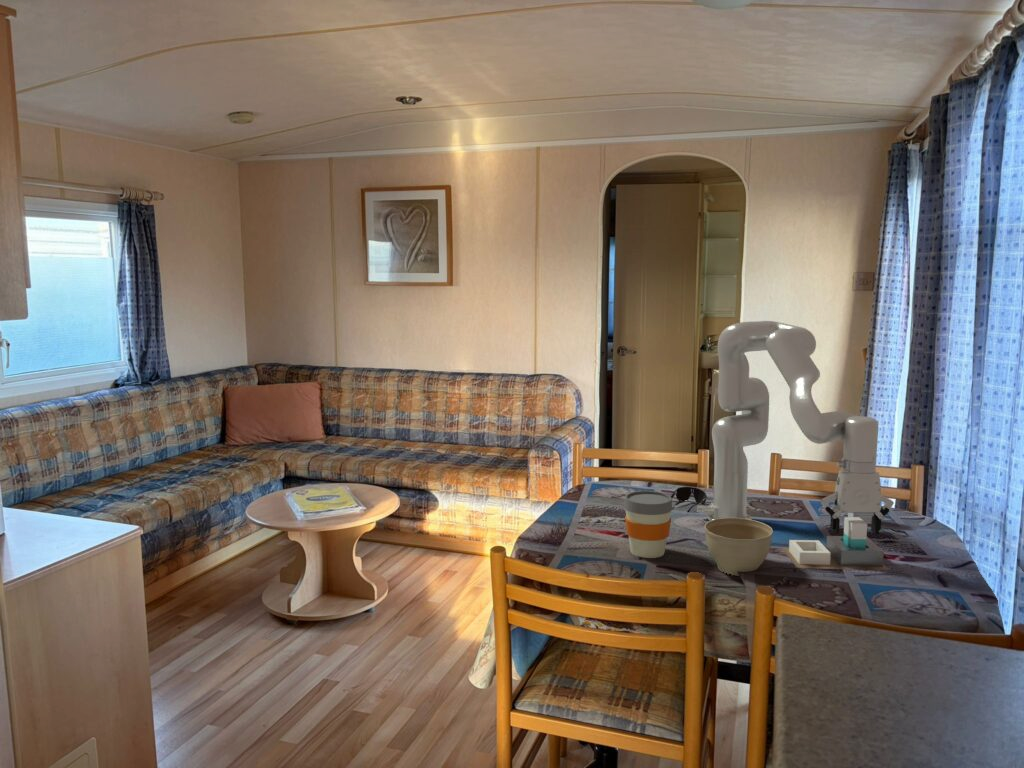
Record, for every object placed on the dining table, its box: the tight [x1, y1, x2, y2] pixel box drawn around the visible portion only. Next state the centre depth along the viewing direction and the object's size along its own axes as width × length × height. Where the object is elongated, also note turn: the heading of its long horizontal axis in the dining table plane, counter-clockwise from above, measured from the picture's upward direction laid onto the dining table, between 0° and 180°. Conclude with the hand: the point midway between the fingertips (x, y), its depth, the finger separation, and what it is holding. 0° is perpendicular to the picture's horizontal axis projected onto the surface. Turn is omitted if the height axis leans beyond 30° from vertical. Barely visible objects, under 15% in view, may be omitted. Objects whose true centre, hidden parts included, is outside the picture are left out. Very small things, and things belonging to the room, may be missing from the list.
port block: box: [825, 535, 885, 567], centre depth 187 cm, size 10×10×4 cm
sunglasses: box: [669, 486, 707, 513], centre depth 236 cm, size 10×12×5 cm
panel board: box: [781, 546, 891, 571], centre depth 188 cm, size 22×14×2 cm, turn 85°
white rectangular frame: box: [788, 539, 831, 565], centre depth 188 cm, size 7×9×3 cm
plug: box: [843, 516, 868, 548], centre depth 187 cm, size 4×5×10 cm
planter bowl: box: [704, 518, 774, 577], centre depth 184 cm, size 16×16×11 cm
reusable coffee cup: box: [623, 490, 673, 559], centre depth 196 cm, size 13×13×15 cm
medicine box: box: [847, 501, 883, 525], centre depth 218 cm, size 8×4×9 cm, turn 84°
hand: (855, 532), depth 186 cm, fingers open, 9 cm apart
